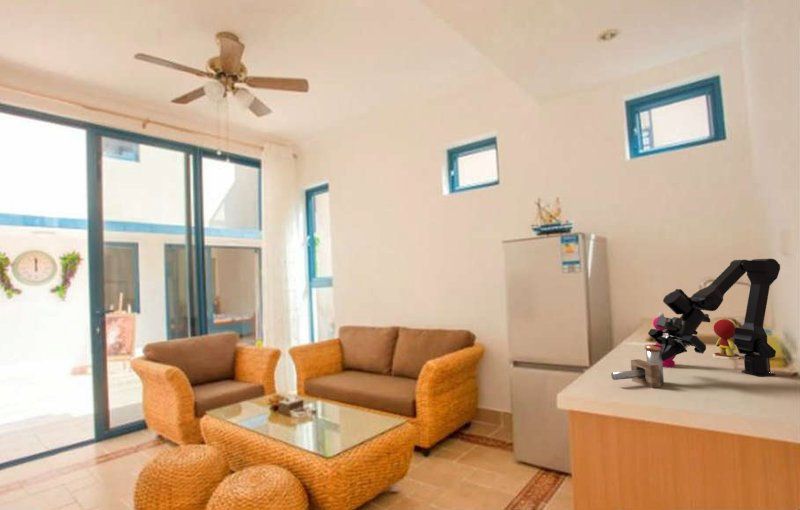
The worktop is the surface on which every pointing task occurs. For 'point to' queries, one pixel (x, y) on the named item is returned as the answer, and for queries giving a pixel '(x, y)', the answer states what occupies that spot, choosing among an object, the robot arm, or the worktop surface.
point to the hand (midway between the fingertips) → (661, 359)
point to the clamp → (653, 357)
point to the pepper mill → (666, 362)
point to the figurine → (725, 339)
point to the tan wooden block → (647, 373)
